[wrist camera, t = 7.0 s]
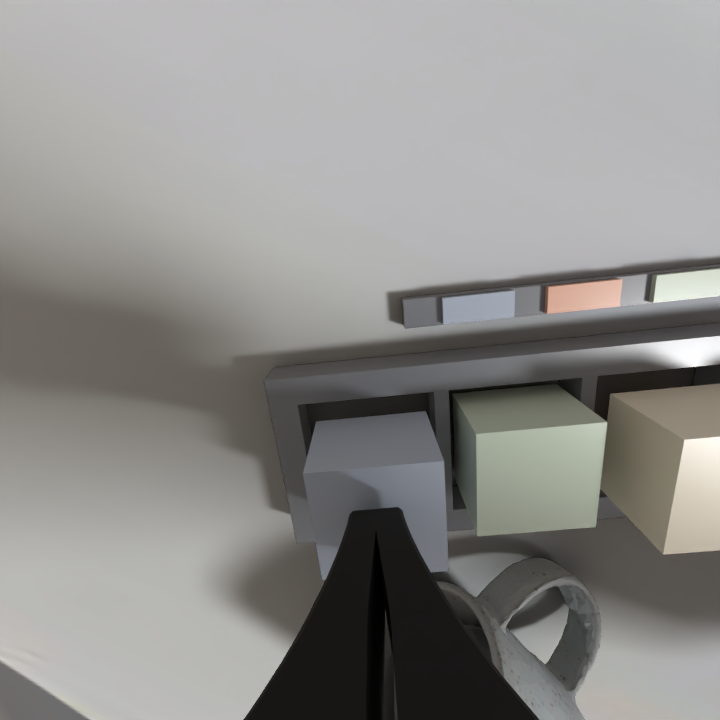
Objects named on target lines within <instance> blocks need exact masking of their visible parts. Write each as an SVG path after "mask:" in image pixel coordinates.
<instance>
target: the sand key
mask: <svg viewBox="0 0 720 720" xmlns="http://www.w3.org/2000/svg"><path fill="white" fill-rule="evenodd" d="M600 489H601V490H602V491H603V492H604V493H605V494H606V495H607V496H608V498H609V499H610V500H611V501H612V502H613V503H614V504H615V505H616V506H617V507H618V508H619V509H620V510H621V511H622V512H623V513H624V514H625V515H626V516H627V517H628V518H629V520H630V521H631V522H632V523H633V524H634V525H635V526H636V527H637V528H638V529H639V530H640V531H641V532H642V533H643V534H644V535H645V536H646V537H647V538H648V539H649V541H650V542H651V543H652V544H653V545H654V546H655V547H656V548H657V549H658V550H659V551H660V552H661V553H662V554H663V555H665V554H679V553H692V552H705V551H718V550H720V383H719V384H709V385H698V386H687V387H677V388H666V389H655V390H645V391H634V392H624V393H613V394H610V401H609V410H608V419H607V431H606V440H605V449H604V458H603V467H602V476H601V485H600Z"/></svg>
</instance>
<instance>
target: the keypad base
mask: <svg viewBox="0 0 720 720" xmlns="http://www.w3.org/2000/svg"><path fill="white" fill-rule="evenodd" d="M687 367H696V371H695V376H694V382H693V386H698V385H709V384H719V383H720V323H711V324H701V325H692V326H682V327H672V328H662V329H652V330H642V331H632V332H622V333H612V334H602V335H592V336H582V337H572V338H562V339H552V340H543V341H533V342H523V343H513V344H503V345H493V346H483V347H473V348H463V349H453V350H443V351H433V352H423V353H413V354H403V355H394V356H384V357H374V358H364V359H354V360H344V361H334V362H324V363H314V364H304V365H294V366H284V367H274V368H273V369H272V370H271V372H270V373H269V375H268V376H267V377H266V379H265V380H264V384H265V389H266V394H267V399H268V404H269V409H270V414H271V419H272V424H273V429H274V434H275V439H276V443H277V448H278V453H279V458H280V463H281V468H282V473H283V478H284V483H285V488H286V493H287V498H288V503H289V508H290V512H291V517H292V522H293V527H294V532H295V537H296V542H297V543H310V542H315V537H314V532H313V526H312V521H311V515H310V510H309V504H308V499H307V494H306V488H305V483H304V477H303V471H304V467H305V463H306V459H307V455H308V452H309V448H310V444H311V440H312V436H311V430H310V424H309V418H308V412H307V406H306V404H312V403H323V402H333V401H344V400H354V399H364V398H375V397H385V396H396V395H406V394H416V393H427V392H428V399H429V417H430V424H431V427H432V429H433V432H434V435H435V438H436V440H437V443H438V446H439V449H440V451H441V454H442V457H443V459H444V470H445V493H446V517H447V531H459V530H471V529H474V526H473V524H472V521H471V519H470V516H469V513H468V511H467V508H466V506H465V503H464V500H463V498H462V495H461V493H460V490H459V488H458V486H452V467H451V439H450V412H449V390H458V389H468V388H479V387H489V386H500V385H510V384H520V383H531V382H541V381H552V380H560V387H561V388H562V389H564V390H565V391H566V392H568V393H569V394H570V395H572V396H573V397H574V398H576V399H577V400H578V401H580V402H581V403H582V404H584V405H585V406H587V407H588V408H589V409H591V410H592V411H593V412H594V408H595V398H596V388H597V378H598V376H604V375H614V374H624V373H635V372H645V371H655V370H666V369H676V368H687ZM620 517H627V516H626V515H625V514H624V513H623V512H622V511H621V510H620V509H619V508H618V507H617V506H616V505H615V504H614V503H613V502H612V501H611V500H610V499H609V498H608V496H607V495H606V494H605V493H604V492H603V491H602V490H601V489H600V494H599V503H598V512H597V519H608V518H620Z"/></svg>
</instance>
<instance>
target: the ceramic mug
mask: <svg viewBox="0 0 720 720" xmlns="http://www.w3.org/2000/svg"><path fill="white" fill-rule="evenodd" d="M436 582H437V584H438V585H439V587H440V589H441V590H442V592H443V594H444V595H445V597H446V598H447V600H448V601H449V603H450V604H451V606H452V608H453V609H454V611H455V612H456V614H457V615H458V617H459V618H460V619H461V621H462V622H463V624H464V625H465V627H466V628H467V630H468V631H469V632H470V634H471V635H472V636H473V638H474V639H475V641H476V642H477V643H478V645H479V646H480V647H481V649H482V650H483V651H484V653H485V654H486V655H487V657H488V658H489V659H490V660H491V662H492V663H493V664H494V666H495V667H496V668H497V669H498V671H499V672H500V673H501V675H502V676H503V677H504V678H505V680H506V681H507V682H508V683H509V684H510V685H511V687H512V688H513V689H514V690H515V691H516V692H517V694H518V695H519V696H520V697H521V698H522V700H523V701H524V702H525V703H526V704H527V705H528V707H529V708H530V709H531V710H532V711H533V713H534V714H535V715H536V716H537V717H538V718H539V720H585V719H584V717H583V715H582V714H581V712H580V710H579V709H578V707H577V705H576V700H575V696H576V694H577V692H578V690H579V689H580V687H581V686H582V684H583V682H584V680H585V678H586V676H587V674H588V672H589V671H590V669H591V668H592V665H593V663H594V660H595V657H596V654H597V652H598V649H599V647H600V638H601V620H600V613H599V610H598V606H597V604H596V602H595V599H594V597H593V596H592V594H591V593H590V592H589V590H588V589H587V588H586V586H585V585H584V584H583V582H582V581H580V580H579V579H578V578H577V577H575V576H574V575H573V574H571V573H569V572H568V571H566V570H565V569H563V568H562V567H560V566H559V565H557V564H556V563H554V562H553V561H550V560H547V559H544V558H530V559H524V560H522V561H519V562H516V563H514V564H512V565H511V566H509V567H508V568H506V569H505V570H504V571H503V572H501V573H500V574H499V575H498V576H497V577H496V578H495V579H494V580H493V581H491V582H490V583H489V584H488V585H487V586H486V587H485V589H484V590H483V591H482V592H481V593H480V594H479V595H478V596H477V597H474V596H472V595H471V594H469V593H468V592H467V591H466V590H464V589H462V588H460V587H459V586H456V585H453V584H451V583H448V582H442V581H436ZM553 586H558V587H559V589H560V591H561V592H562V594H563V596H564V601H565V604H566V605H567V606H568V607H569V613H568V619H567V624H566V626H565V629H564V632H563V635H562V637H561V639H560V641H559V644H558V646H557V647H556V649H555V650H554V652H553V654H552V656H551V658H550V659H549V661H548V662H547V663H546V664H544V663H543V662H542V661H540V660H539V659H538V658H537V657H536V656H535V655H534V654H532V653H531V652H530V651H528V650H527V649H526V648H525V647H524V646H523V645H522V644H521V643H520V641H519V640H518V639H517V638H516V637H515V636H514V634H513V633H512V632H511V631H510V630H509V629H508V628H506V626H507V624H508V622H509V621H510V619H511V617H512V616H513V615H514V614H515V613H516V612H517V611H518V610H520V609H521V608H522V607H523V606H525V605H526V604H527V603H528V602H529V601H530V600H531V599H532V598H533V597H535V596H536V595H538V594H539V593H541V592H542V591H544V590H546V589H549V588H551V587H553ZM384 720H398V718H397V703H396V688H395V673H394V664H393V657H392V651H391V644H390V637H389V631H388V624H387V618H386V611H385V667H384Z"/></svg>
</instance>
